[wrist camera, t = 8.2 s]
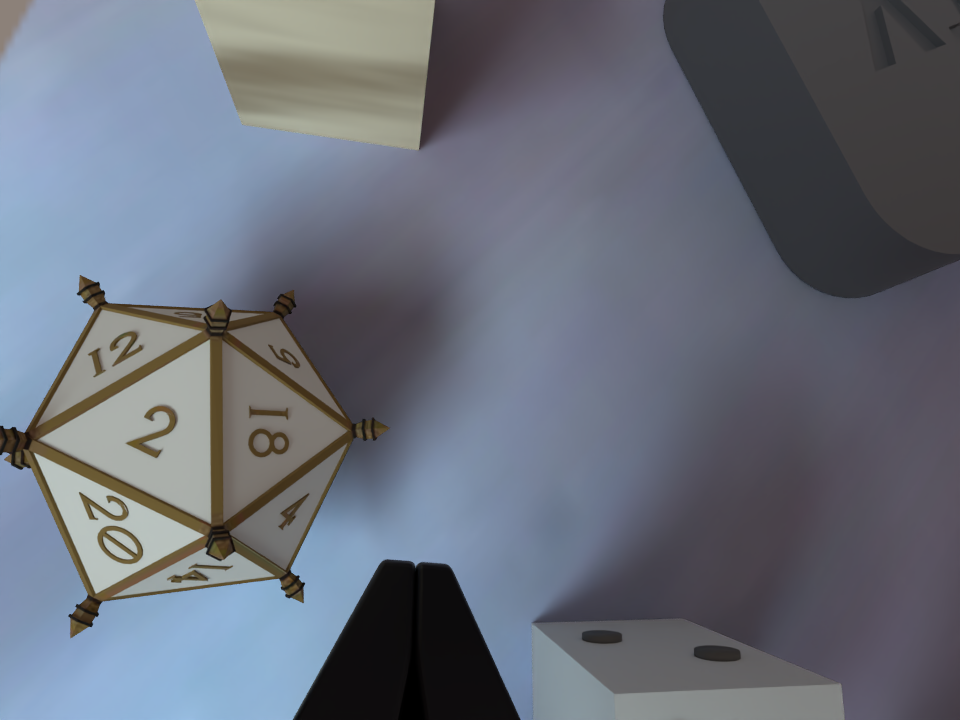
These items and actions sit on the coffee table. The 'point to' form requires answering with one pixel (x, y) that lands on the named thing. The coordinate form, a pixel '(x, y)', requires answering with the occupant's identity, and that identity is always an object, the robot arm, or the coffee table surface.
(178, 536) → the game die
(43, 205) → the coffee table surface
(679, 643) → the grey dotted block
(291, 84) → the plain birch block
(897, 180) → the streaming box
